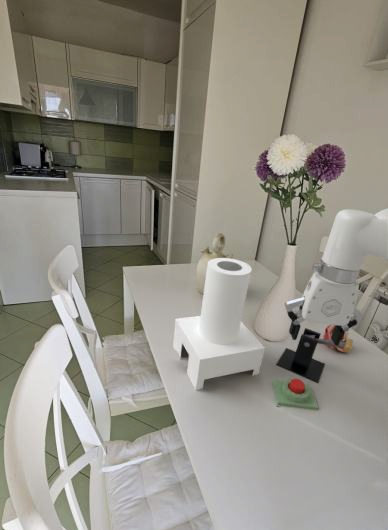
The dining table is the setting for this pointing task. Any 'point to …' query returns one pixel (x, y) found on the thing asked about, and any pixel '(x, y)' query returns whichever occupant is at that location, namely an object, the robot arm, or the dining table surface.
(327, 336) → the flower
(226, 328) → the paper towel holder
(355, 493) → the dining table surface
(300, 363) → the bracket
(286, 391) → the button block
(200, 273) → the jug
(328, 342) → the lever
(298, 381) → the button
